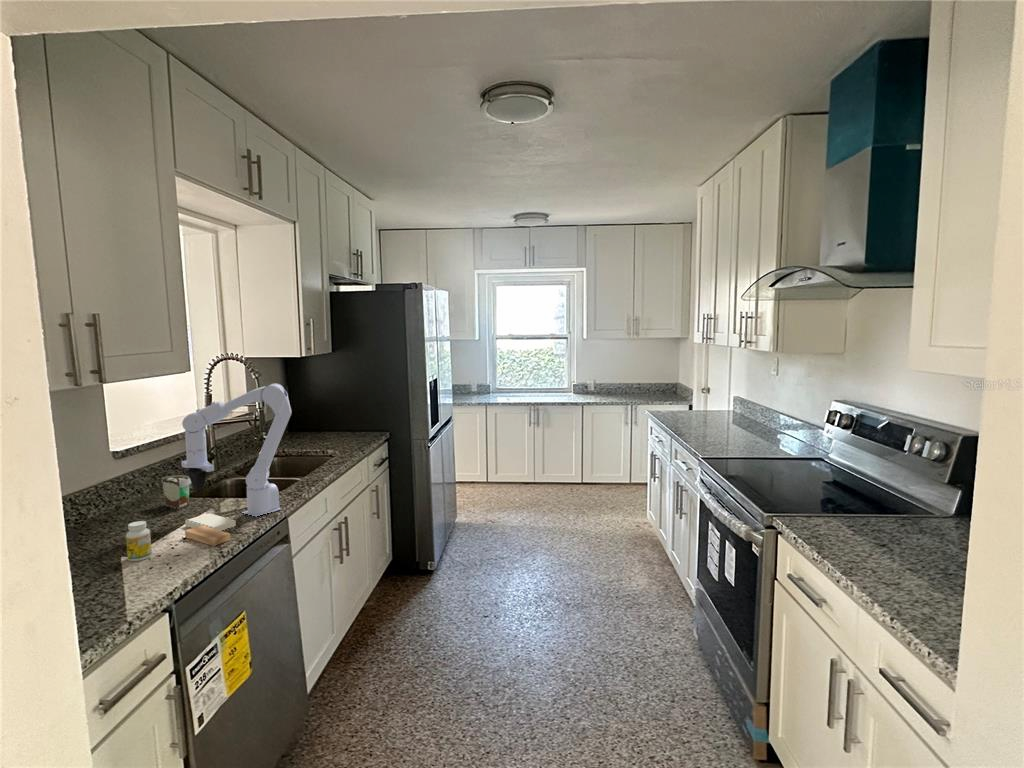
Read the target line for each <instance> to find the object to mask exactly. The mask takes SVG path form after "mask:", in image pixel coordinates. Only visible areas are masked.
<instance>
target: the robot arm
mask: <svg viewBox="0 0 1024 768" xmlns="http://www.w3.org/2000/svg"><path fill="white" fill-rule="evenodd" d="M253 402H254V403H260V404H261V403H263V402H264V403H265V404H266V405H267V406H269V407H270V408H271V410H272V411H273V413H274V415H275V416H274V418H273V420H272V422H271V425H270V427H269V430H268V433H267V435H266V437H265V439H264V442H263V445H262V447H261V450H260V452H259V455H258V457H257V459H256V462H255V463H254V465H253V466H252V467H251V469H250V470H249V472H248V474H247V475H246V477H245V484H246V502H247V503H246V505H247V510H245V511H242V512H241V514H242V513H244V514H243V515H245V514H248V515H247V516H249V515H252V516H251V517H253V516H256V517H255V518H258V517H257V516H260V515H263V514H266V515H268V514H267V513H269V514H271V512H272V513H274V512H277V511H279V510H281V509H282V508H281V507H280V496H279V495H280V494H279V492H280V491H279V487H278V486H277V485H276V484H275V483H272V482H271V483H270V482H269V480H268V479H269V477H270V473H271V472H270V467H271V464H272V462H273V459H274V456H275V454H276V452H277V450H278V447H279V444H280V442H281V440H282V437H283V435H284V432H285V430H286V427H287V425H288V423H289V421H290V418H291V416H292V407H291V404H290V400H289V394H288V392H287V390H286V389H285V388H284V386H283V385H282V384H279V383H278V382H277V383H276V382H275V383H270V384H269V385H268V386H266V385H265V386H261V387H258V388H255V389H253V390H250V391H248V392H246V393H244V394H242V395H239V396H238V397H235V398H233V399H231V400H229V401H227V402H223V401H217V402H216V401H213V402H210V405H208V406H205V407H204V408H201V409H200V408H198V409H196V410H195V412H191V413H190V414H188V415H186V416H185V417H184V418H183V419H182V427H183V429H184V430H185V431H184V432H185V433H184V434H185V437H184V439H185V452H186V455H185V456H186V460H181V468H184V469H186V470H185V474H186V476H189V478H190V480H191V485H192V487H193V491H194V492H196V493H197V492H202V491H204V488H205V485H206V484H205V483H206V479H207V478H208V475H209V473H210V472H214V471H215V466H214V464H212V463H210V462H209V461H208V453H207V451H208V450H207V449H208V448H207V435H206V426H211V425H213V424H216V423H217V422H219V421H221V420H222V421H223V420H224V419H226V418H228V417H229V415H230V412H232V411H235V410H237V409H238V408H241V407H243V406H246V405H248V404H251V403H253ZM188 468H189V469H188ZM187 469H188V470H187ZM263 516H264V515H263ZM260 517H261V516H260Z"/></svg>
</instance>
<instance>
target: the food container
mask: <svg viewBox="0 0 1024 768" xmlns="http://www.w3.org/2000/svg"><path fill="white" fill-rule="evenodd" d="M161 484H162V489H163V499H164V505H165V506H166V507H169V506H170V508H172V507H173V509H176V508H177V509H176V510H179V509H180V510H183V509H185V508H184V507H186V506H187V505H188V504H190V485H192V482H191V480H190V478H189V476H188V475H184V474H183V475H182V474H181V475H180V474H179V475H178V474H177V475H170V476H169V475H168V476H161ZM188 506H189V505H188ZM188 506H187V507H188ZM187 507H186V508H187ZM182 508H183V509H182Z"/></svg>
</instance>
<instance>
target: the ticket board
mask: <svg viewBox="0 0 1024 768" xmlns="http://www.w3.org/2000/svg"><path fill="white" fill-rule="evenodd" d="M184 524H185V527H186V526H187V527H186V528H189V527H191V528H190V529H192V528H195V527H198V526H201V525H202V526H206V527H209V528H213V529H216V530H220V531H222V530H224V531H226V530H225V529H227V528H230V529H232V528H231V527H233V528H235V527H234V526H237V524H236V519H232V518H228V517H224V516H221V515H217V514H213V513H205V514H201V515H198V516H194V517H192V518H188V519H185V523H184ZM227 530H228V529H227Z"/></svg>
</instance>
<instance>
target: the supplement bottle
mask: <svg viewBox="0 0 1024 768" xmlns="http://www.w3.org/2000/svg"><path fill="white" fill-rule="evenodd" d="M127 529H128V532H127V533H126V534H125V541H126V542H125V544H126V554H127V560H128V561H129V562H139V561H144V560H147V559H149V558H151V556H152V555H153V553H152V540H151V530H150V529H149V528H147V521H145V520H139V521H133V522H130V523H128V524H127Z"/></svg>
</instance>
